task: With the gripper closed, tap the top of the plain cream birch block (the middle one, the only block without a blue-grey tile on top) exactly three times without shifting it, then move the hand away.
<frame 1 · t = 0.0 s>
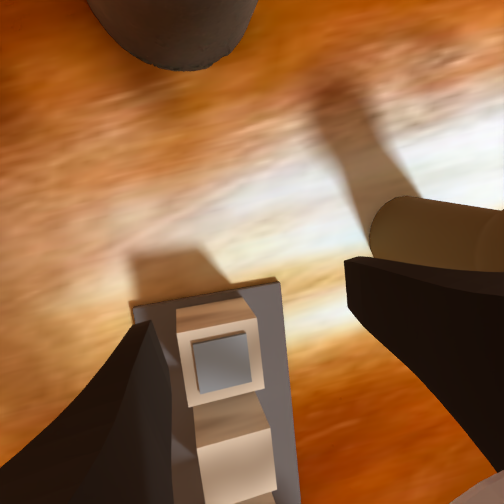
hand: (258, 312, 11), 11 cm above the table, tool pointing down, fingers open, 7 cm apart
cork: (401, 234, 25), on the table
marked block 1: (214, 333, 22), resting on mat
plain block: (228, 425, 23), resting on mat
mat: (227, 421, 23), on the table
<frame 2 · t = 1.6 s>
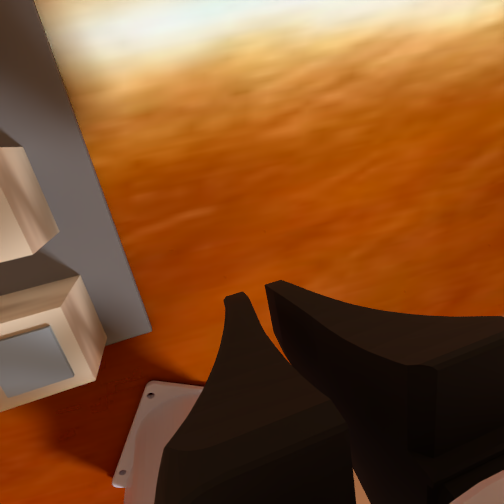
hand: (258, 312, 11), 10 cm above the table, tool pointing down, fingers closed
marked block 2: (54, 318, 19), resting on mat
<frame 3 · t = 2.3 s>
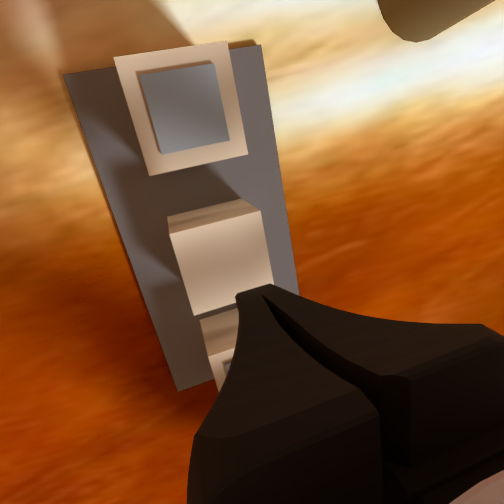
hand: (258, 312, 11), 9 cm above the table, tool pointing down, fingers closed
marked block 2: (238, 336, 22), resting on mat
marked block 1: (181, 118, 17), resting on mat
plain block: (213, 242, 19), resting on mat
mat: (212, 240, 20), on the table
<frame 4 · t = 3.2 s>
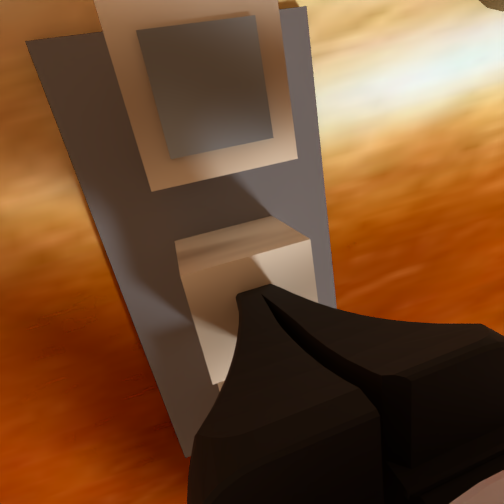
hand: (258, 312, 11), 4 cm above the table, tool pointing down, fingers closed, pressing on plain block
marked block 1: (195, 107, 12), resting on mat
plain block: (234, 272, 15), resting on mat, touching gripper
mat: (233, 269, 15), on the table
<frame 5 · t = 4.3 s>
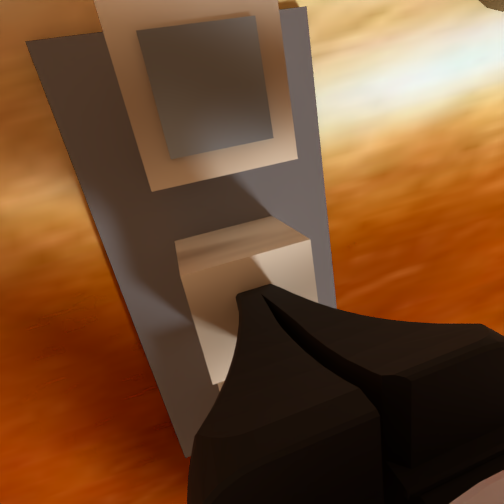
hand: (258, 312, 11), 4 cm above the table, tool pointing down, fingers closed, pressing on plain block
marked block 1: (195, 107, 12), resting on mat
plain block: (234, 273, 15), resting on mat, touching gripper
mat: (233, 270, 15), on the table
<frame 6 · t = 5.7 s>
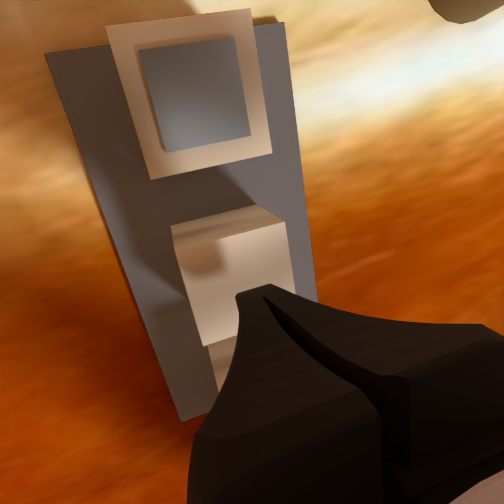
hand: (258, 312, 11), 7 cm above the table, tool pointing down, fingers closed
marked block 2: (250, 360, 19), resting on mat
marked block 1: (188, 109, 14), resting on mat
plain block: (224, 254, 17), resting on mat
mat: (222, 252, 17), on the table
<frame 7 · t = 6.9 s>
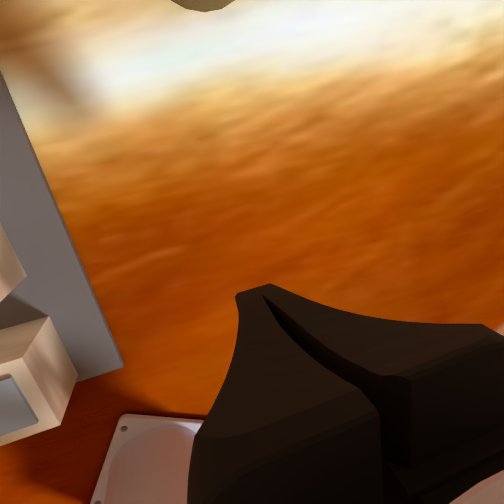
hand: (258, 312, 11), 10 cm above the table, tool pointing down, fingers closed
marked block 2: (24, 358, 19), resting on mat
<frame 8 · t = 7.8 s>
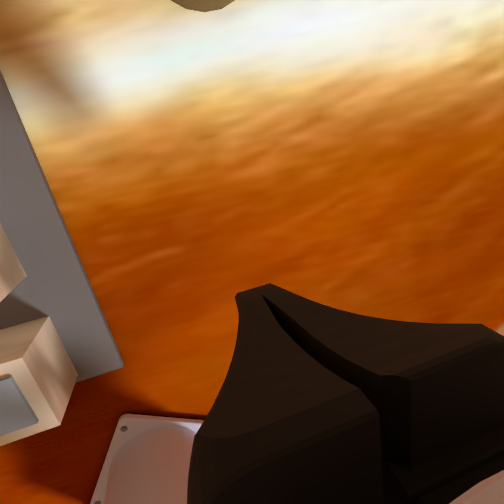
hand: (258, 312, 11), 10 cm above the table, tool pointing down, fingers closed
marked block 2: (24, 358, 19), resting on mat
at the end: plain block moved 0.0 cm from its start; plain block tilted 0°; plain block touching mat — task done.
